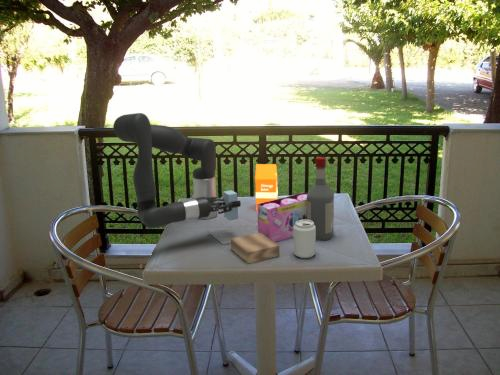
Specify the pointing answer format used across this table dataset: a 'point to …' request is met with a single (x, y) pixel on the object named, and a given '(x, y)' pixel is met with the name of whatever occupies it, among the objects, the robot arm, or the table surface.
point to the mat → (229, 234)
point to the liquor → (321, 203)
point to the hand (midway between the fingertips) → (236, 201)
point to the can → (304, 238)
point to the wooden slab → (254, 247)
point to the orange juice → (266, 183)
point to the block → (230, 197)
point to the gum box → (281, 216)
